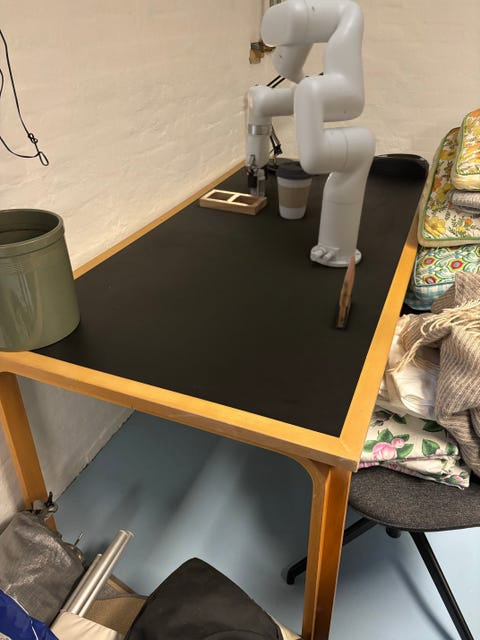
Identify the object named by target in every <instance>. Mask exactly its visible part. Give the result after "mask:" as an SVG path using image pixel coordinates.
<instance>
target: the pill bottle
mask: <svg viewBox="0 0 480 640" xmlns="http://www.w3.org/2000/svg"><path fill="white" fill-rule="evenodd" d="M253 170H254V172H255V169H253ZM263 175H264V170H263V169H258V172H257V175H256V176H258V180H257V188H256V189H255V188H250V195H254V196H261V197H265V193H266V192H265V191H266V190H265V189H266V180H265V176H263Z"/></svg>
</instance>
